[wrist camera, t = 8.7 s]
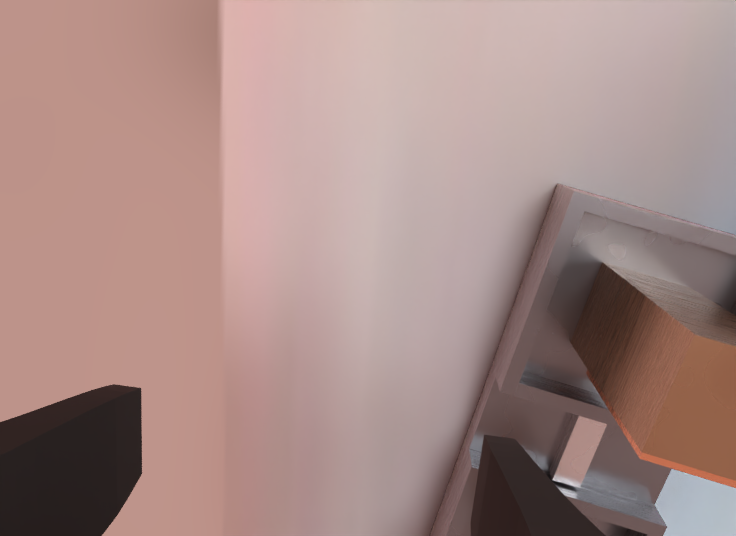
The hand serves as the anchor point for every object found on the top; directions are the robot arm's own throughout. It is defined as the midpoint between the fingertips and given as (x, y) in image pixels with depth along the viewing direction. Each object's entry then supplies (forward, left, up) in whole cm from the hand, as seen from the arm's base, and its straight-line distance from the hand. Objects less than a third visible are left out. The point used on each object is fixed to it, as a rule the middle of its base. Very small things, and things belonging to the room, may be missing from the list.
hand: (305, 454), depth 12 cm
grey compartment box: (-9, +2, -10) cm, 14 cm away
